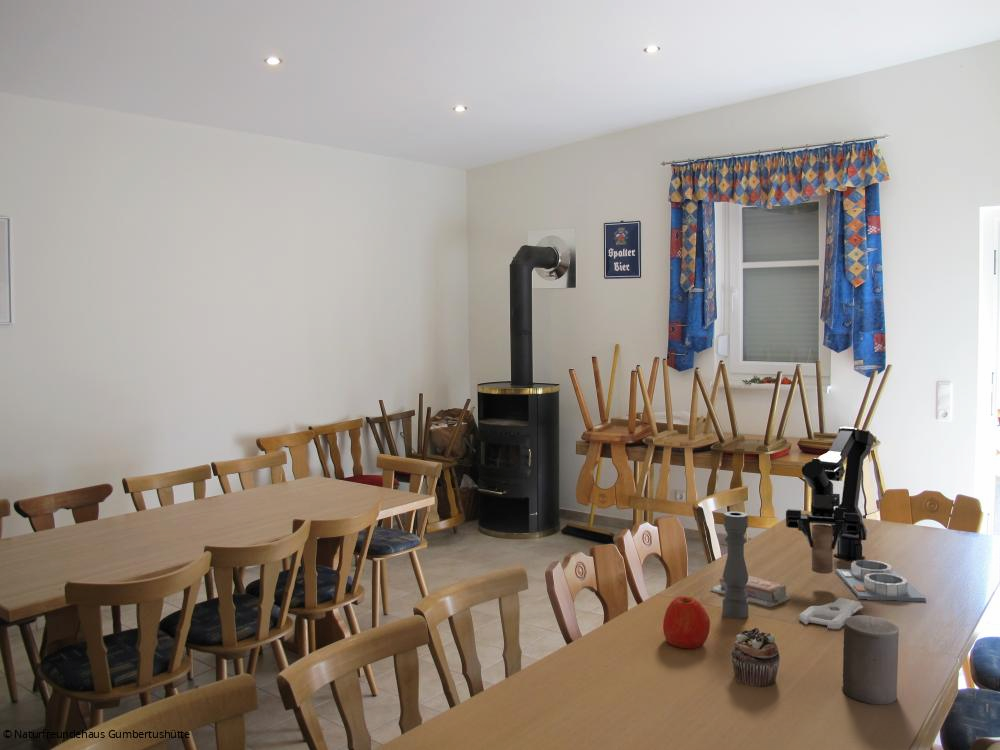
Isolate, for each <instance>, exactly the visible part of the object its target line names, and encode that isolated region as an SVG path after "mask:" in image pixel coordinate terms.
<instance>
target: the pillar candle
mask: <svg viewBox="0 0 1000 750" xmlns="http://www.w3.org/2000/svg"><path fill="white" fill-rule="evenodd" d="M899 631H900V628H899V626H898V625H896V624H895V623H894V622H892V621H889V620H888V619H886V618H882V617H877V616H871V615H870V616H869V615H861V614H860V615H859V614H858V615H857V614H856V615H851V617H848V618H846V619H845V621H844V625H843V647H842V648H843V650H842V654H843V655H842V656H843V659H842V687H841V690H842V692H843V694H845V695H846V696H847V697H849V698H851V699H853V700H855V701H858V702H862V703H864V704H870V705H890V704H893V703H894V702H895V701H896V700H897V696H898V693H897V692H898V669H899V668H898V667H899V664H898V663H899V662H898V661H899V636H900V635H899Z"/></svg>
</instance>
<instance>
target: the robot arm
mask: <svg viewBox="0 0 1000 750" xmlns="http://www.w3.org/2000/svg"><path fill="white" fill-rule="evenodd" d="M874 438H875V437H874V434H873V433H871V432H870V430H868V429H867V430H865V429H859V428H856V427H853V426H842V427H841V426H840V427H839V428H838V434H837V435H836V437H835V439H834V441H833V442H832V444H831V446H830V448H829V449H828V451H827V452H826V453H824V454H822V455H820V456H819V457H818V458H815V457H813V458H812V460H811V461H808V462H807V463H805V464H804V465H803V466H802V468H801V473H802V476H803V477H804V479H805V482H806V483H807V486H808V487H809V488H810V490H811V491H810V493H811V498H810V499H811V501H810V515H809V514H808V513H803V512H802V509H792V508H791V509H790V508H787V510H786V511H785V524H786V525H785V526H786V528H788V529H790V528H791V529H797V530H798V531H799V532H802V533H803V535H804V536H805V538H806V541H807V543H808V545H809V547H810V548H811V549H812V529H811V524H823V525H830V526H832V527H833V551H834V550H836V548H837V552H836V553H833V557H837V558H839V559H841V560H842V559H843V560H846V561H848V562H849V561H850V562H853V561H857V560H865V559H866V556H864V555H863V544H862V541H867V535H868V534H867V533H868V531H867V528H866V526H865V523H864V521H863V519H864V518H863V514H862V512H861V510H860V507H859V500H860V492H861V485H862V484H861V483H862V476H863V467H864V460H865V459H866V458H867V457H868V455H869V454H870V453H871V450H872V446H873V445H874V441H875V439H874ZM845 460H846V464H845V466H844V461H845ZM843 477H844V481H843V487H842V494H841V495H840V493H834V483H833V481H834V482H839V481H840V480H841V479H842V478H843ZM840 498H841V499H840ZM836 546H837V547H836Z"/></svg>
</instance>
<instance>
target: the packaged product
mask: <svg viewBox="0 0 1000 750" xmlns="http://www.w3.org/2000/svg"><path fill="white" fill-rule="evenodd" d="M744 587H745V589H744V591H745V592H746V594H747V599H746V600H747V601H748V603H754V604H756V605H761V606H765V607H769V608H772V607H776V606H777V605H780V604H781V603H782V604H783V603H784V602H786V601H789V600H790V599H791V595H790V593H787V586H786V584H783V583H779V582H775V581H771V580H767V579H764V578H760V577H756V576H752V575H748V582H747V584H746V585H745V586H744ZM726 590H727V587H726V584H725V582H724V580H723V575H721V577H720V578H719V584H717V585H715V586H712V587H710V591H711V592H714V593H718V594H721V595H724V592H726ZM783 601H784V602H783ZM779 603H780V604H779Z"/></svg>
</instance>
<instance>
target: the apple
mask: <svg viewBox="0 0 1000 750" xmlns="http://www.w3.org/2000/svg"><path fill="white" fill-rule="evenodd" d="M662 628H663V629H662V630H663V631H662V632H663V635H664V637H665V640H666V641H667V642H668V643H669V644H670V645H671V646H674V647H678V648H682V649H695V648H699V647H700V646H703V645H704V644H705V642H706V641H707V639H708V637H709V633H710V629H711V620H710V617H709V615H708V612H707V611H706V609H705V607H704V606H703V604H701V602H700V601H699V600H697V599H696V598H693V597H689V596H677V597H675V598H673V599H672V600H671V602H670V603H669V604H668V606H667V608H666V610H665V614H664V616H663V623H662Z"/></svg>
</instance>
